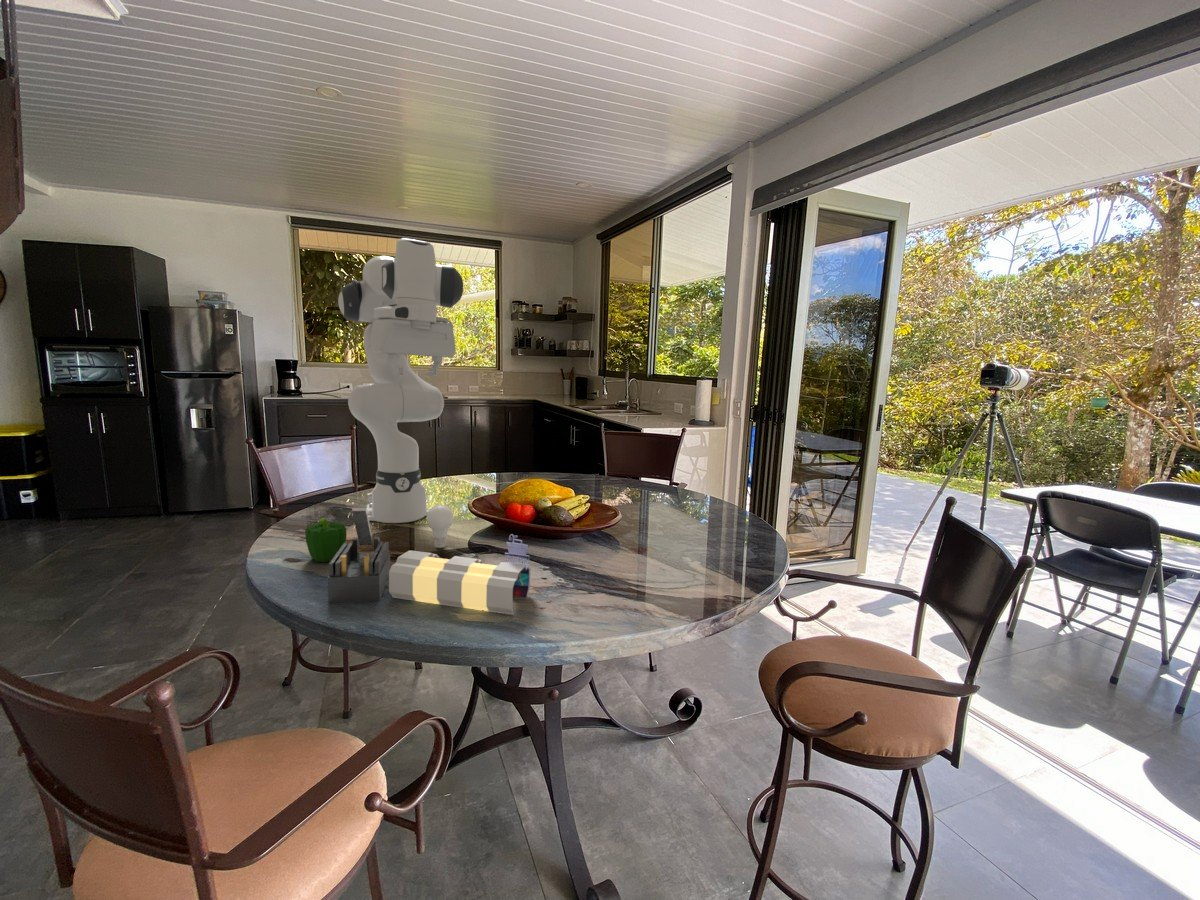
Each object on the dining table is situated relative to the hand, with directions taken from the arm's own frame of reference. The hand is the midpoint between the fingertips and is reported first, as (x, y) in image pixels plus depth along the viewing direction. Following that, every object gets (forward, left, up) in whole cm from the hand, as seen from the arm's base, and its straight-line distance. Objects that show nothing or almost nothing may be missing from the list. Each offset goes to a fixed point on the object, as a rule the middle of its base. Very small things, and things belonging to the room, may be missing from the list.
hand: (416, 375), depth 121 cm
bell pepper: (-4, -19, -43) cm, 47 cm away
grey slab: (+14, -14, -31) cm, 36 cm away
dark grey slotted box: (+16, -14, -42) cm, 47 cm away
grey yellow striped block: (+29, +3, -43) cm, 52 cm away
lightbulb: (-1, +6, -43) cm, 43 cm away
